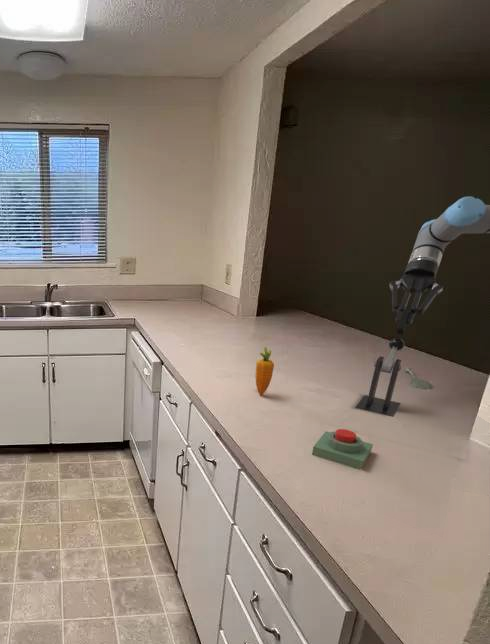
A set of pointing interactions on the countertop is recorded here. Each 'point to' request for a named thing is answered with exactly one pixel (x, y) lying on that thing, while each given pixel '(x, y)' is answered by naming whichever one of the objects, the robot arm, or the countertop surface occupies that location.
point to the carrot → (264, 372)
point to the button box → (342, 450)
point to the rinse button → (345, 436)
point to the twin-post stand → (386, 405)
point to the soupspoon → (417, 381)
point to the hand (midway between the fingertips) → (399, 331)
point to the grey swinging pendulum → (392, 354)
